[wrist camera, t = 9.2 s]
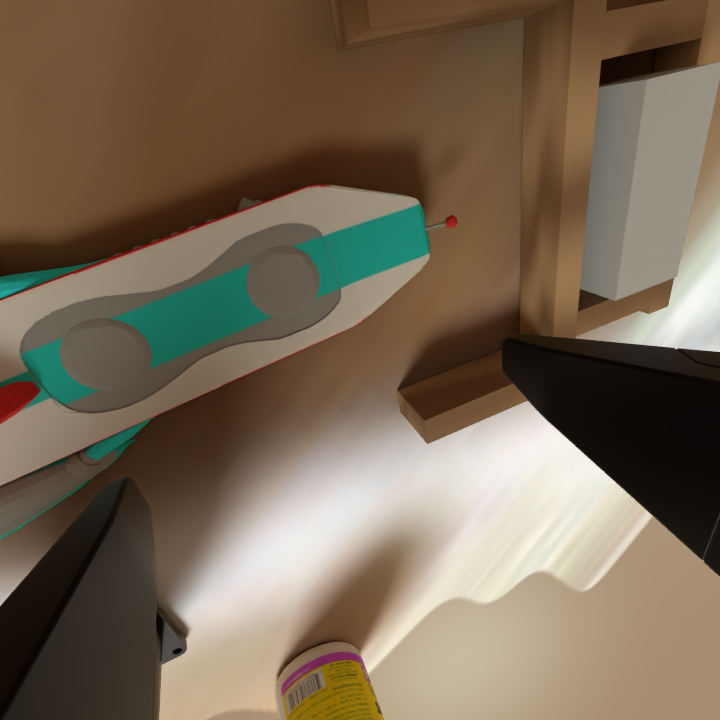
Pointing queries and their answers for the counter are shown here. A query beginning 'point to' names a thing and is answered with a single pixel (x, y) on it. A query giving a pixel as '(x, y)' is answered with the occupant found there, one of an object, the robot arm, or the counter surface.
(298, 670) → the supplement bottle
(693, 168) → the matte grey rectangular prism
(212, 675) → the counter surface
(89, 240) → the counter surface
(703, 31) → the jig
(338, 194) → the toy spaceship
